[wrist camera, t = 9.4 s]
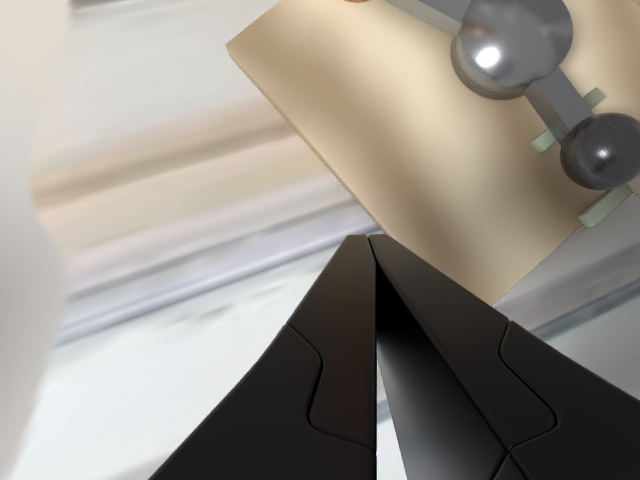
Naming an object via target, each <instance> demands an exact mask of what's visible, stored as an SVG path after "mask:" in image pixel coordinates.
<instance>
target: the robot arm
mask: <svg viewBox="0 0 640 480" xmlns="http://www.w3.org/2000/svg"><path fill="white" fill-rule="evenodd" d="M377 359H378V363H379V367H380V371H381V375H382V380H383V384H384V388H385V392H386V396H387V400H388V404H389V408H390V412H391V416H392V420H393V424H394V428H395V432H396V436H397V440H398V444H399V448H400V452H401V456H402V460H403V464H404V468H405V472H406V476H407V480H640V400H638V399H637V398H635V397H633V396H631V395H630V394H628V393H626V392H625V391H623V390H621V389H620V388H618V387H616V386H614V385H613V384H611V383H609V382H608V381H606V380H604V379H603V378H601V377H599V376H598V375H596V374H594V373H593V372H591V371H590V370H588V369H586V368H585V367H583V366H581V365H580V364H578V363H576V362H575V361H573V360H572V359H570V358H568V357H567V356H565V355H563V354H562V353H560V352H559V351H557V350H556V349H554V348H553V347H551V346H550V345H548V344H547V343H545V342H544V341H542V340H541V339H539V338H538V337H536V336H535V335H533V334H532V333H530V332H529V331H527V330H526V329H524V328H523V327H521V326H520V325H519V324H517V323H516V322H514V321H510V322H509V319H508V318H507V317H506V316H504V315H503V314H501V313H500V312H499V311H497V310H496V309H494V308H493V307H491V306H490V305H488V304H487V303H486V302H484V301H483V300H481V299H480V298H478V297H477V296H476V295H474V294H473V293H471V292H470V291H468V290H467V289H465V288H464V287H463V286H461V285H460V284H458V283H457V282H455V281H454V280H453V279H451V278H450V277H448V276H447V275H445V274H444V273H442V272H441V271H440V270H438V269H437V268H435V267H434V266H432V265H431V264H430V263H428V262H427V261H425V260H424V259H422V258H421V257H419V256H418V255H417V254H415V253H414V252H412V251H411V250H409V249H408V248H407V247H405V246H404V245H402V244H401V243H399V242H398V241H396V240H395V239H394V238H392V237H391V236H389V235H387V234H376V235H369V236H368V237H367V236H366V235H348V236H346V238H345V239H344V241H343V242H342V243H341V245H340V246H339V248H338V249H337V251H336V252H335V253H334V255H333V256H332V258H331V259H330V261H329V262H328V263H327V265H326V266H325V268H324V269H323V271H322V272H321V274H320V275H319V276H318V278H317V279H316V281H315V282H314V284H313V285H312V286H311V288H310V289H309V291H308V292H307V294H306V295H305V296H304V298H303V299H302V301H301V302H300V304H299V305H298V306H297V308H296V309H295V311H294V312H293V314H292V315H291V316H290V318H289V319H288V321H287V322H286V325H284V326H283V327H282V328H281V330H280V331H279V333H278V334H277V335H276V337H275V338H274V340H273V341H272V342H271V344H270V345H269V346H268V348H267V349H266V350H265V352H264V353H263V354H262V355H261V357H260V358H259V359H258V361H257V362H256V363H255V364H254V365H253V366H252V368H251V369H250V370H249V371H248V372H247V373H246V374H245V375H244V377H243V378H242V379H241V380H240V381H239V382H238V383H237V384H236V386H235V387H234V388H233V389H232V390H231V391H230V392H229V393H228V394H227V395H226V396H225V397H224V398H223V400H222V401H221V402H220V403H219V404H218V405H217V406H216V407H215V408H214V409H213V410H212V411H211V412H210V413H209V415H208V416H207V417H206V418H205V419H204V420H203V421H202V422H201V423H200V424H199V425H198V426H197V427H196V429H195V430H194V431H193V432H192V433H191V434H190V435H189V436H188V437H187V438H186V439H185V440H184V441H183V442H182V444H181V445H180V446H179V447H178V448H177V449H176V450H175V451H174V452H173V453H172V454H171V455H170V456H169V457H168V459H167V460H166V461H165V462H164V463H163V464H162V465H161V466H160V467H159V468H158V469H157V470H156V471H155V472H154V474H153V475H152V476H151V477H150V478H149V479H148V480H377V456H376V452H377Z"/></svg>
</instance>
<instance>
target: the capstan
mask: <svg viewBox="0 0 640 480" xmlns="http://www.w3.org/2000/svg"><path fill="white" fill-rule="evenodd" d="M344 1H348V2H360V1H364V0H344ZM384 1H386V2H388V3H390V4H391V5H393V6H395V7H397V8H399V9H401V10H403V11H405V12H406V13H408V14H410V15H412V16H414V17H416V18H418V19H419V20H421V21H423V22H425V23H427V24H429V25H431V26H433V27H434V28H436V29H438V30H440V31H442V32H444V33H446V34H448V35H449V36H451V37H453V39H452V42H451V48H450V56H451V62H452V66H453V69H454V71H455V73H456V75H457V76H458V78H459V79H460V81H461V82H462V83H463V84H464V85H465V86H466V87H467V88H468V89H470V90H471V91H472V92H474V93H476V94H477V95H479V96H482V97H484V98H488V99H492V100H511V99H516V98H519V97H521V96H524V95H525V97H526V98H527V99H528V101H529V102H530V104H531V105H532V106H533V108H534V109H535V111H536V112H537V113H538V115H539V116H540V118H541V119H542V120H543V122H544V123H545V125H546V126H547V127H548V129H549V130H550V132H551V133H552V134H553V136H554V137H555V139H556V140H557V141H558V143H559V144H560V146H561V149H560V163H561V166H562V169H563V171H564V172H565V174H566V175H567V176H568V178H569V179H570V180H571V181H573V182H574V183H576V184H577V185H579V186H581V187H584V188H587V189H592V190H610V189H614V188H618V187H621V186H623V185H626V184H627V183H629V182H631V181H632V180H634V179H635V178H636V177H638V176H639V175H640V121H638V120H637V119H635V118H633V117H631V116H629V115H626V114H622V113H615V112H608V113H600V114H596V115H594V114H593V112H592V111H591V109H590V108H589V107H588V105H587V104H586V103H585V101H584V100H583V98H582V97H581V96H580V94H579V93H578V92H577V90H576V89H575V88H574V86H573V85H572V83H571V82H570V81H569V79H568V78H567V77H566V75H565V74H564V73H563V71H562V70H561V68H560V67H559V65H560V64H561V63H562V61H563V60H564V59H565V57H566V56H567V54H568V52H569V50H570V47H571V44H572V40H573V24H572V19H571V16H570V13H569V11H568V9H567V7H566V5H565V4H564V2H563V1H562V0H384Z"/></svg>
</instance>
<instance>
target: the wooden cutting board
mask: <svg viewBox="0 0 640 480" xmlns="http://www.w3.org/2000/svg"><path fill="white" fill-rule="evenodd" d="M562 1H563V2H564V4H565V5H566V7H567V9H568V11H569V13H570V16H571V19H572V24H573V40H572V44H571V47H570V50H569V52H568V54H567V56H566V57H565V59H564V60H563V61H562V63H561V64H560V65H559V67H560V68H561V70H562V71H563V73H564V74H565V75H566V77H567V78H568V79H569V81H570V82H571V83H572V85H573V86H574V88H575V89H576V90H577V92H578V93H579V94H580V96H581V97H582V98H583V100H584V101H585V103H586V104H587V105H588V107H589V108H590V109H591V111H592V112H593V114H594V115H596V114H600V113H608V112H615V113H622V114H626V115H629V116H631V117H633V118H635V119H637V120H638V121H640V6H639V5H638V4H637V3H636V2H635V1H634V0H562ZM452 39H453V37H451V36H449V35H448V34H446V33H444V32H442V31H440V30H438V29H436V28H434V27H433V26H431V25H429V24H427V23H425V22H423V21H421V20H419V19H418V18H416V17H414V16H412V15H410V14H408V13H406V12H405V11H403V10H401V9H399V8H397V7H395V6H393V5H391V4H390V3H388V2H386V1H384V0H364V1H360V2H348V1H344V0H281V1H279V2H278V3H277V4H276V5H274V6H273V7H272V8H270V9H269V10H268V11H267V12H265V13H264V14H263V15H262V16H260V17H259V18H258V19H257V20H255V21H254V22H253V23H252V24H250V25H249V26H248V27H247V28H245V29H244V30H243V31H242V32H240V33H239V34H238V35H237V36H235V37H234V38H233V39H232V40H230V41H229V42H228V43H227V44H225V45H226V48H227V50H228V52H229V55H230V57H231V58H232V59H233V60H234V61H235V63H236V64H237V65H238V66H239V67H240V68H241V69H242V71H243V72H244V73H245V74H246V75H247V76H248V77H249V78H250V80H251V81H252V82H253V83H254V84H255V85H256V86H257V88H258V89H259V90H260V91H261V92H262V93H263V94H264V96H265V97H266V98H267V99H268V100H269V101H270V102H271V103H272V105H273V106H274V107H275V108H276V109H277V110H278V111H279V113H280V114H281V115H282V116H283V117H284V118H285V119H286V121H287V122H288V123H289V124H290V125H291V126H292V127H293V128H294V130H295V131H296V132H297V133H298V134H299V135H300V136H301V138H302V139H303V140H304V141H305V142H306V143H307V144H308V146H309V147H310V148H311V149H312V150H313V151H314V152H315V153H316V155H317V156H318V157H319V158H320V159H321V160H322V161H323V163H324V164H325V165H326V166H327V167H328V168H329V169H330V171H331V172H332V173H333V174H334V175H335V176H336V177H337V179H338V180H339V181H340V182H341V183H342V184H343V185H344V186H345V188H346V189H347V190H348V191H349V192H350V193H351V194H352V196H353V197H354V198H355V199H356V200H357V201H358V202H359V204H360V205H361V206H362V207H363V208H364V209H365V210H366V211H367V213H368V214H369V215H370V216H371V217H372V218H373V219H374V221H375V222H376V223H377V224H378V225H379V226H380V227H381V229H382V230H383V231H384V232H385V233H386V234H387V235H389V236H391V237H392V238H394V239H395V240H396V241H398V242H399V243H401V244H402V245H404V246H405V247H407V248H408V249H409V250H411V251H412V252H414V253H415V254H417V255H418V256H419V257H421V258H422V259H424V260H425V261H427V262H428V263H430V264H431V265H432V266H434V267H435V268H437V269H438V270H440V271H441V272H442V273H444V274H445V275H447V276H448V277H450V278H451V279H453V280H454V281H455V282H457V283H458V284H460V285H461V286H463V287H464V288H465V289H467V290H468V291H470V292H471V293H473V294H474V295H476V296H477V297H478V298H480V299H481V300H483V301H484V302H486V303H487V304H488V305H490V306H492V305H493V304H494V303H496V302H497V301H498V300H499V299H500V298H501V297H502V296H503V295H505V294H506V293H507V292H508V291H509V290H510V289H511V288H512V287H514V286H515V285H516V284H517V283H518V282H519V281H520V280H521V279H522V278H524V277H525V276H526V275H527V274H528V273H529V272H530V271H531V270H533V269H534V268H535V267H536V266H537V265H538V264H539V263H540V262H542V261H543V260H544V259H545V258H546V257H547V256H548V255H549V254H550V253H552V252H553V251H554V250H555V249H556V248H557V247H558V246H559V245H561V244H562V243H563V242H564V241H565V240H566V239H567V238H568V237H570V236H571V235H572V234H573V233H574V232H575V231H576V230H577V229H578V228H580V227H581V226H582V225H584V226H585V227H586V228H589V227H593V226H596V225H597V224H598V223H599V222H600V221H601V220H603V219H604V218H605V217H606V216H607V215H608V214H609V213H610V212H611V211H613V210H614V209H615V208H616V207H617V206H618V205H619V204H620V203H622V202H623V201H624V200H625V199H626V198H627V197H628V196H629V195H630V194H632V193H634V194H635V195H636V196H638V195H639V194H640V175H639V176H638V177H636V178H635V179H634V180H632V181H631V182H629V183H627V184H626V185H623V186H621V187H618V188H614V189H610V190H592V189H587V188H584V187H581V186H579V185H577V184H576V183H574V182H573V181H571V180H570V179H569V178H568V176H567V175H566V174H565V172H564V171H563V169H562V166H561V163H560V149H561V146H560V144H559V143H558V141H557V140H556V139H555V137H554V136H553V134H552V133H551V132H550V130H549V129H548V127H547V126H546V125H545V123H544V122H543V120H542V119H541V118H540V116H539V115H538V113H537V112H536V111H535V109H534V108H533V106H532V105H531V104H530V102H529V101H528V99H527V98H526V97H525V95H524V96H521V97H519V98H516V99H511V100H492V99H488V98H484V97H482V96H479V95H477V94H476V93H474V92H472V91H471V90H470V89H468V88H467V87H466V86H465V85H464V84H463V83H462V82H461V81H460V79H459V78H458V76H457V75H456V73H455V71H454V69H453V66H452V62H451V56H450V48H451V42H452Z"/></svg>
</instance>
